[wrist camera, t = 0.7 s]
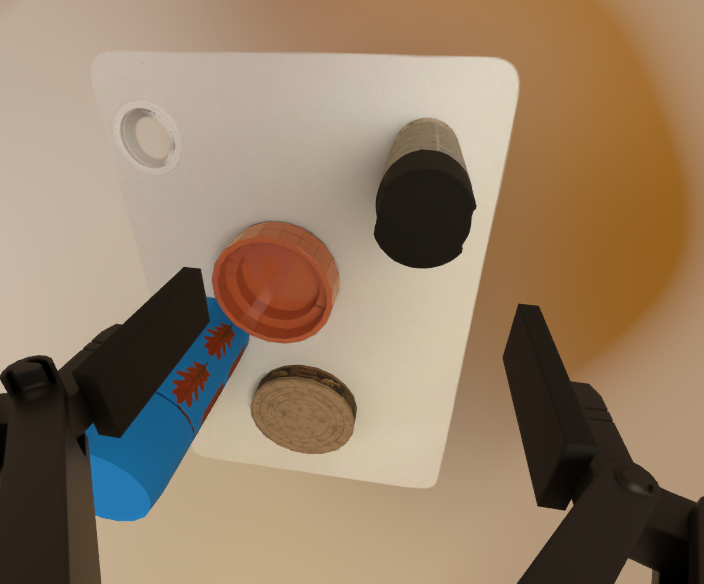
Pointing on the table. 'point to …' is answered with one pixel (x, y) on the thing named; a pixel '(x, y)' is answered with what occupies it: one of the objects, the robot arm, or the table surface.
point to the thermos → (164, 424)
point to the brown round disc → (304, 409)
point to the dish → (276, 282)
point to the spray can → (424, 197)
